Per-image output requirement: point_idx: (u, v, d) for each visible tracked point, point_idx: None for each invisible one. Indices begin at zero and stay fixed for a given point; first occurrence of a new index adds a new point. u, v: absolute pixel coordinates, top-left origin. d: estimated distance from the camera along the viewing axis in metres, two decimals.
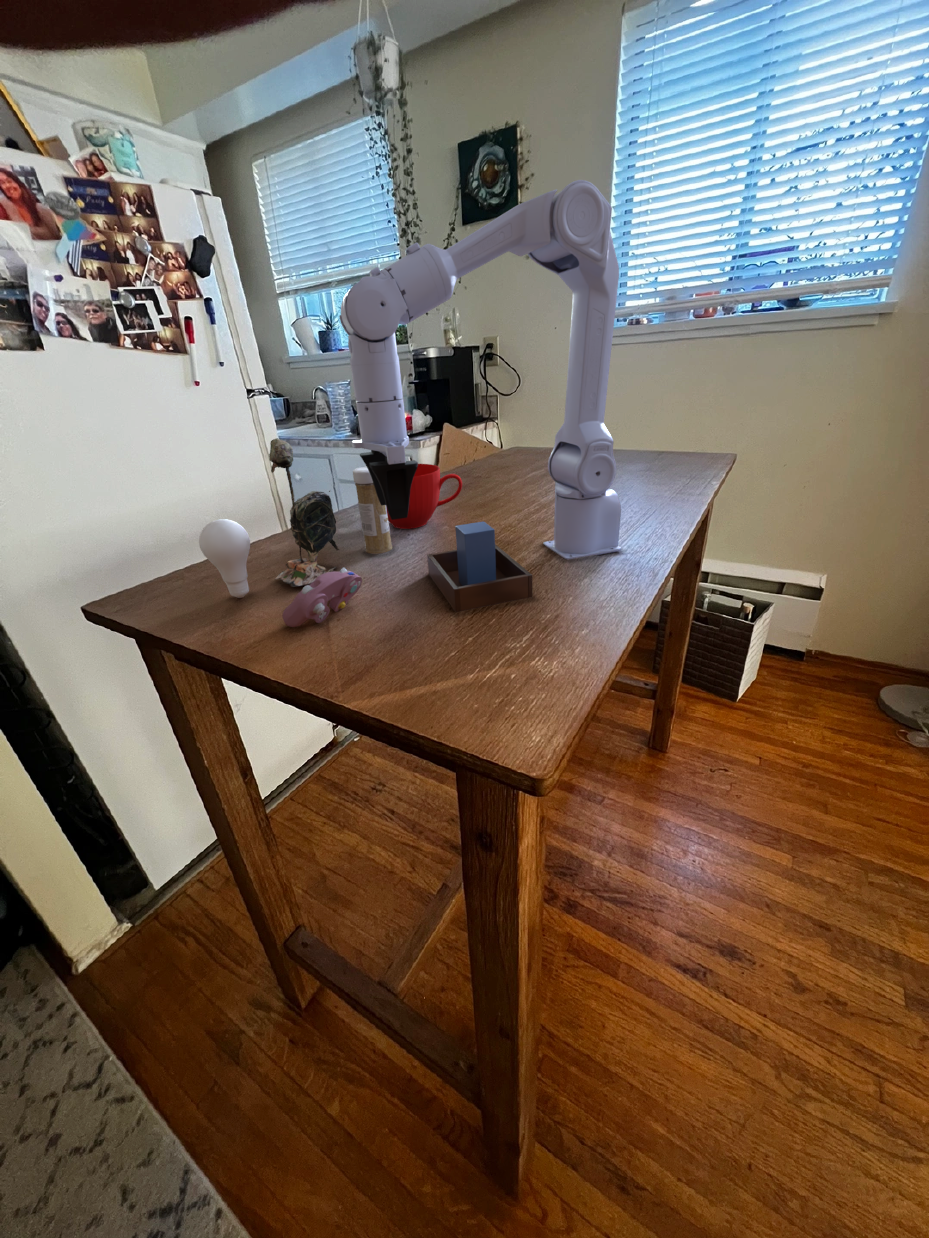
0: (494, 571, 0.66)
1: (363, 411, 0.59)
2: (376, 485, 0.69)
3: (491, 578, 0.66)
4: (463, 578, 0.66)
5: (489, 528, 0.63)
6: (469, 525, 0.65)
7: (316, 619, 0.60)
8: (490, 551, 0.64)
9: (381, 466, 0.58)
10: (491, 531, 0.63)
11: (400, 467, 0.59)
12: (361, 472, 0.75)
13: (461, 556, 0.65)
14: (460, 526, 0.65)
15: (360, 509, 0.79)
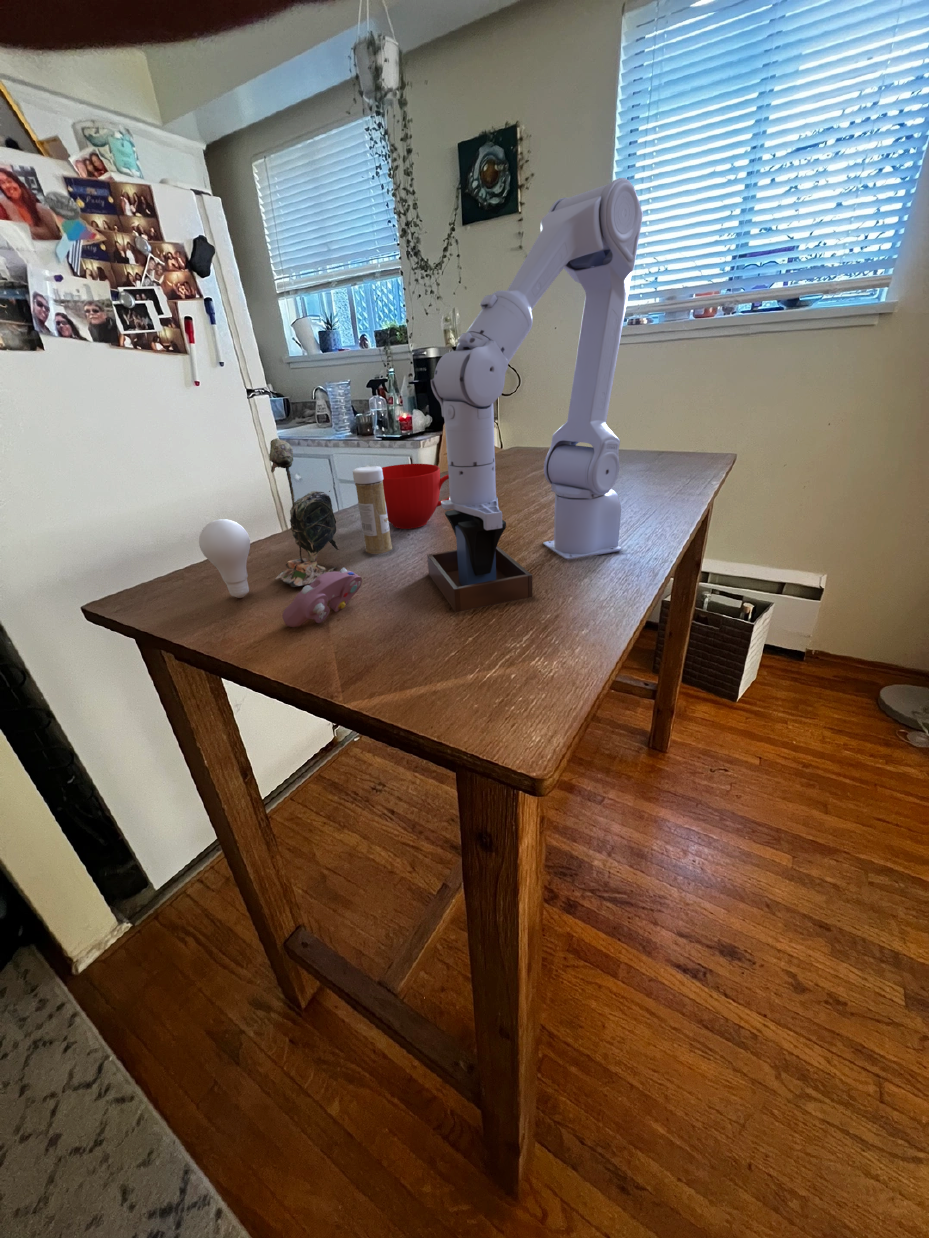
0: (494, 571, 0.65)
1: (457, 475, 0.59)
2: None
3: (491, 578, 0.66)
4: (463, 578, 0.66)
5: None
6: None
7: (316, 619, 0.60)
8: None
9: (473, 527, 0.59)
10: None
11: None
12: (361, 472, 0.75)
13: (461, 556, 0.65)
14: None
15: (360, 509, 0.79)
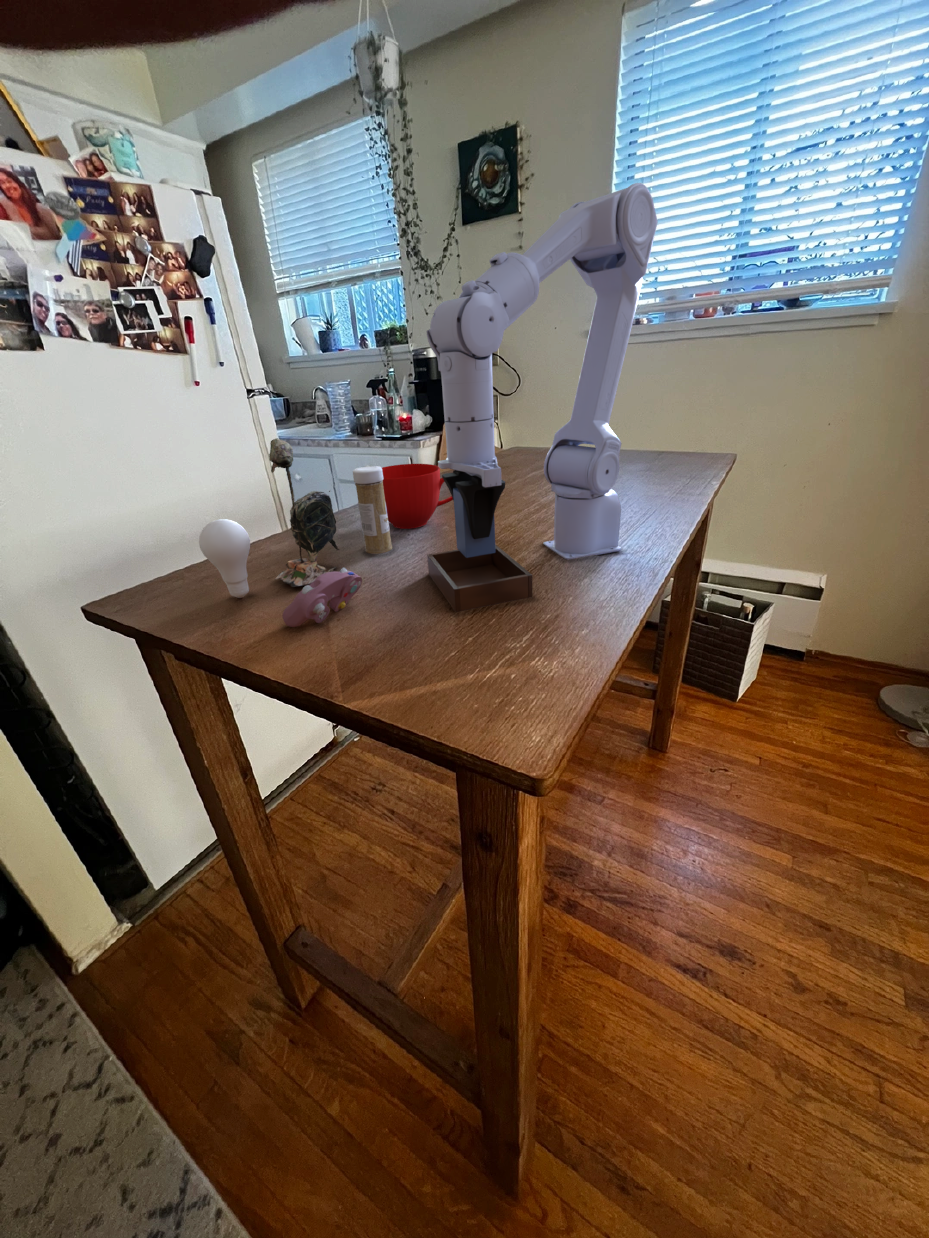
0: (493, 536, 0.63)
1: (454, 431, 0.57)
2: None
3: (490, 542, 0.64)
4: (461, 543, 0.64)
5: None
6: None
7: (316, 619, 0.60)
8: None
9: (470, 486, 0.57)
10: None
11: (489, 487, 0.58)
12: (361, 472, 0.75)
13: (459, 520, 0.63)
14: None
15: (360, 509, 0.79)
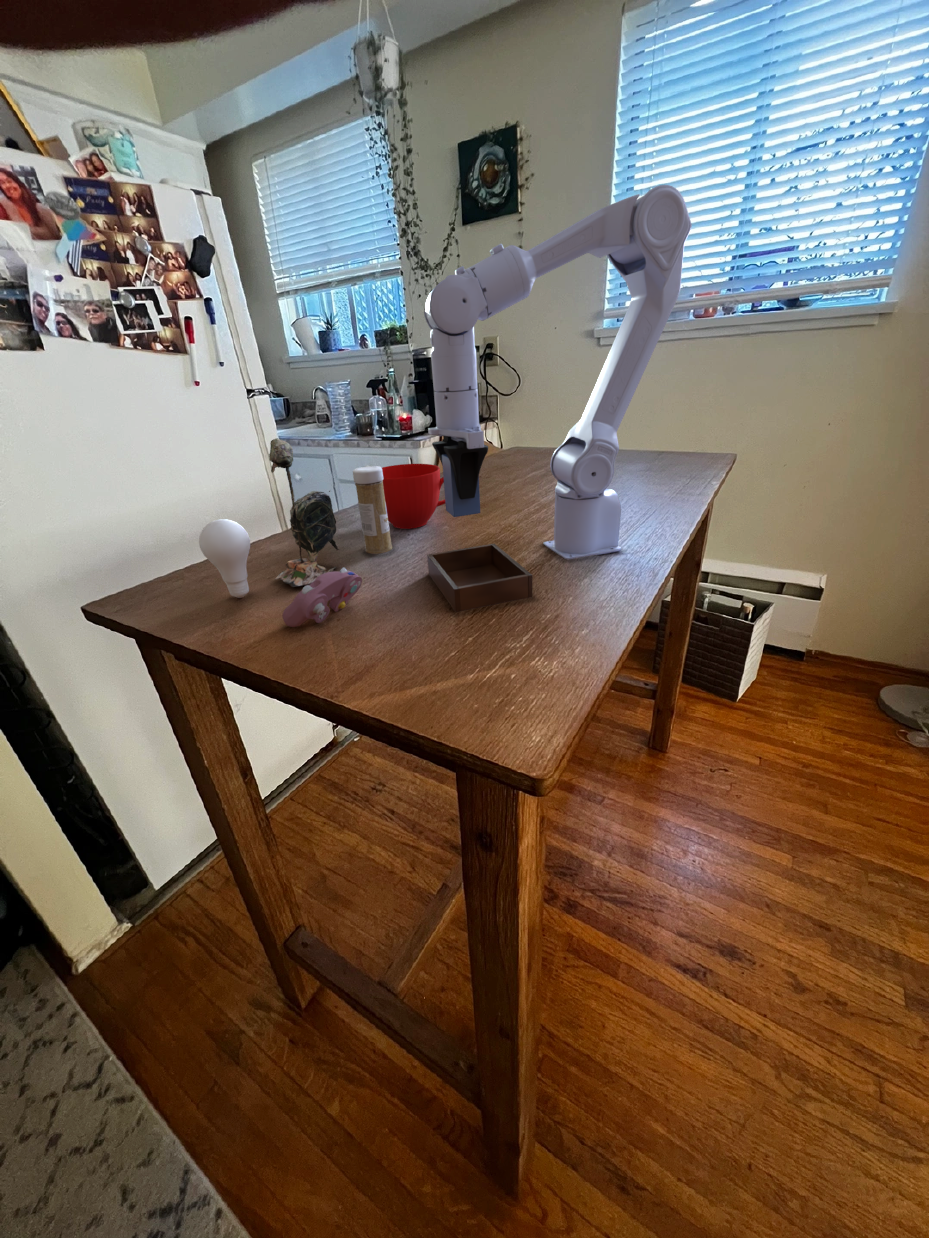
0: (478, 497, 0.70)
1: (442, 400, 0.64)
2: None
3: (475, 503, 0.71)
4: (449, 504, 0.71)
5: None
6: None
7: (316, 619, 0.60)
8: None
9: (457, 449, 0.64)
10: None
11: (473, 450, 0.65)
12: (361, 472, 0.75)
13: (447, 482, 0.70)
14: (446, 454, 0.70)
15: (360, 509, 0.79)
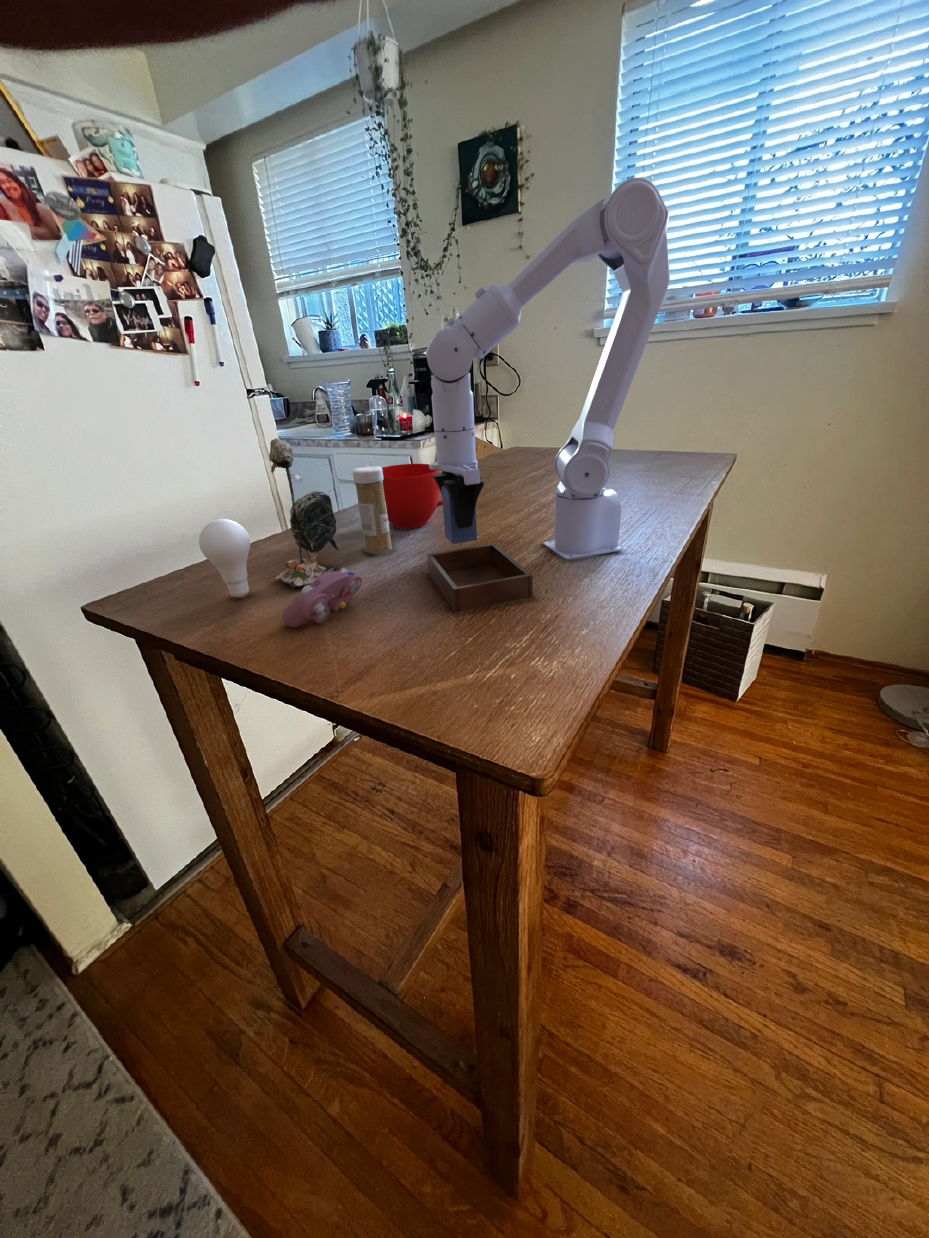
0: (475, 525, 0.76)
1: (442, 439, 0.69)
2: None
3: (472, 531, 0.76)
4: (448, 532, 0.77)
5: None
6: None
7: (316, 619, 0.60)
8: None
9: (455, 484, 0.70)
10: None
11: (470, 485, 0.70)
12: (361, 472, 0.75)
13: (446, 512, 0.76)
14: None
15: (360, 509, 0.79)
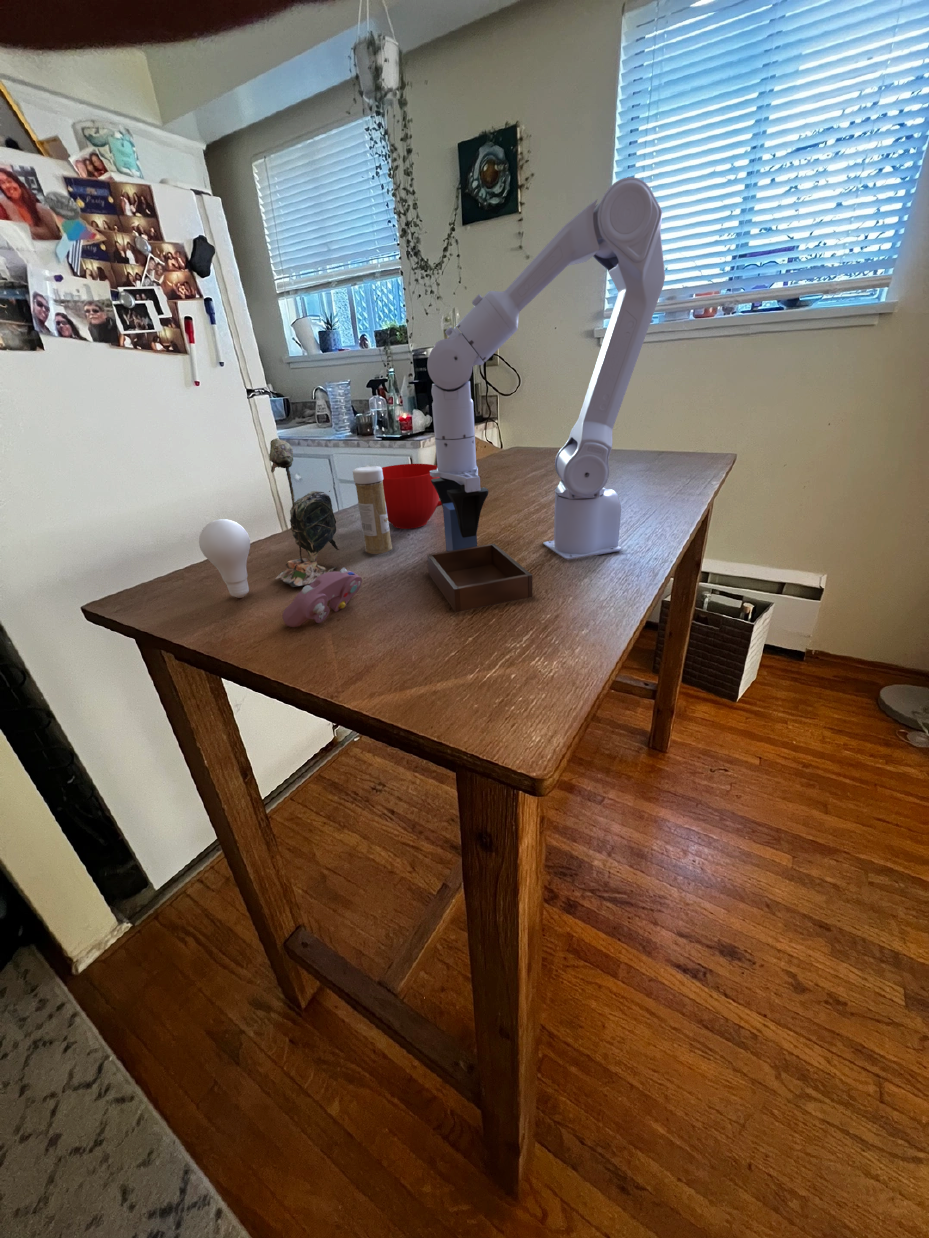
0: (476, 542, 0.77)
1: (442, 447, 0.70)
2: None
3: None
4: (449, 548, 0.78)
5: None
6: None
7: (316, 619, 0.60)
8: None
9: (459, 493, 0.69)
10: None
11: (474, 494, 0.69)
12: (361, 472, 0.75)
13: (448, 529, 0.77)
14: (446, 504, 0.77)
15: (360, 509, 0.79)
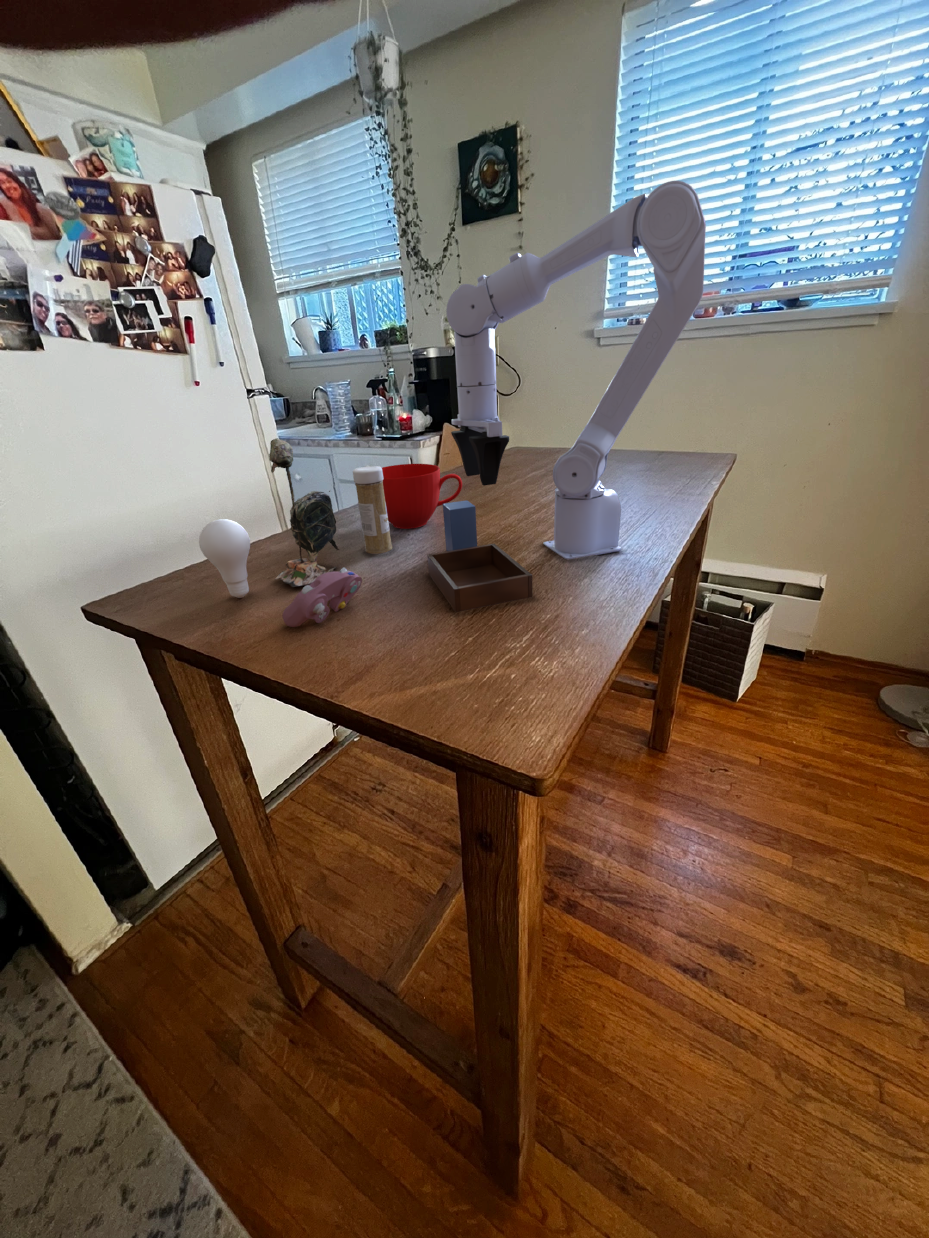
0: (476, 542, 0.77)
1: (465, 394, 0.72)
2: (464, 458, 0.81)
3: None
4: (449, 548, 0.78)
5: (471, 505, 0.75)
6: (454, 503, 0.77)
7: (316, 619, 0.60)
8: (472, 525, 0.76)
9: (481, 439, 0.70)
10: (472, 507, 0.75)
11: (496, 440, 0.71)
12: (361, 472, 0.75)
13: (448, 529, 0.77)
14: (447, 504, 0.77)
15: (360, 509, 0.79)
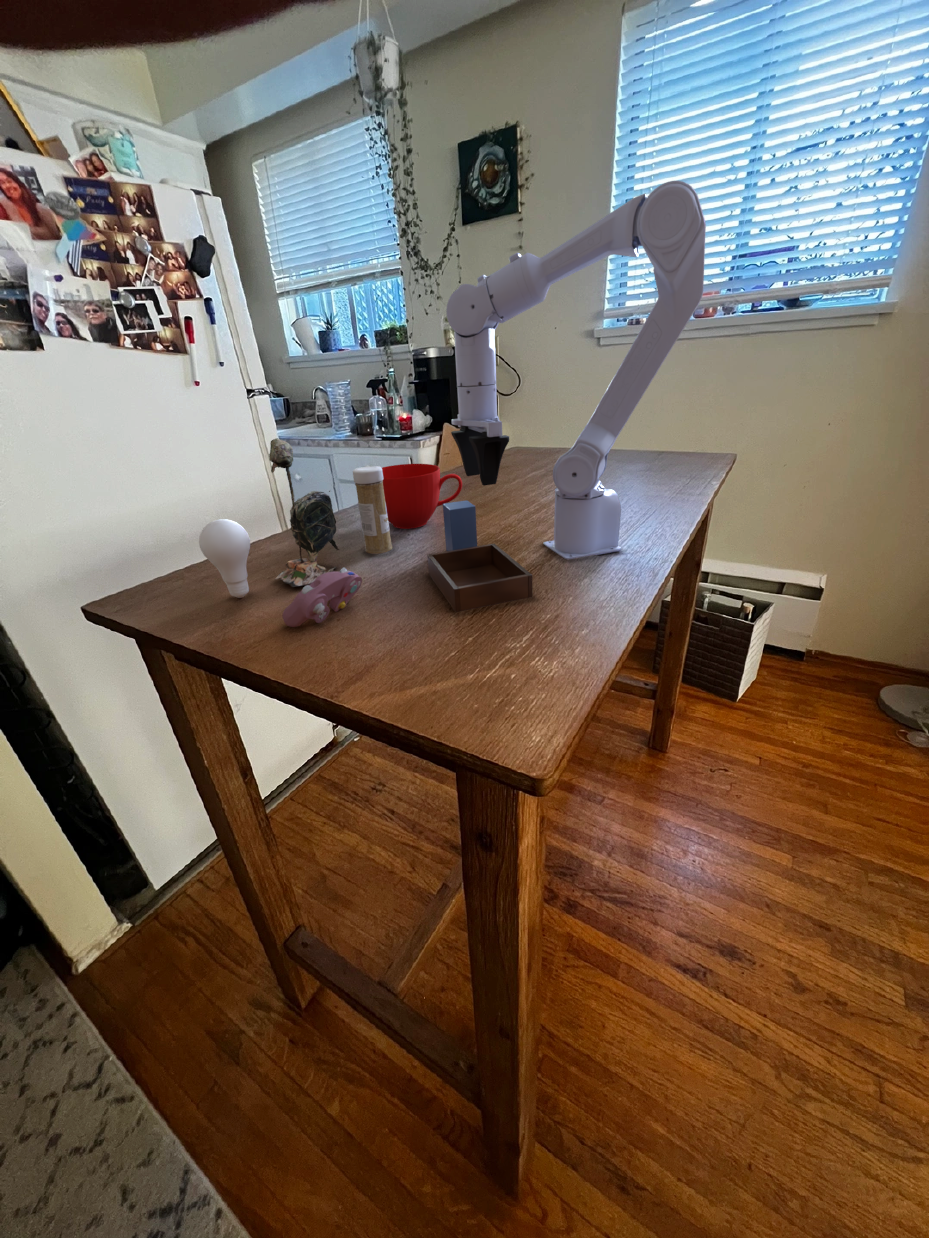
0: (476, 542, 0.77)
1: (465, 394, 0.72)
2: (464, 458, 0.81)
3: None
4: (449, 548, 0.78)
5: (471, 505, 0.75)
6: (454, 503, 0.77)
7: (316, 619, 0.60)
8: (472, 525, 0.76)
9: (481, 439, 0.70)
10: (472, 507, 0.75)
11: (496, 440, 0.71)
12: (361, 472, 0.75)
13: (448, 529, 0.77)
14: (447, 504, 0.77)
15: (360, 509, 0.79)
